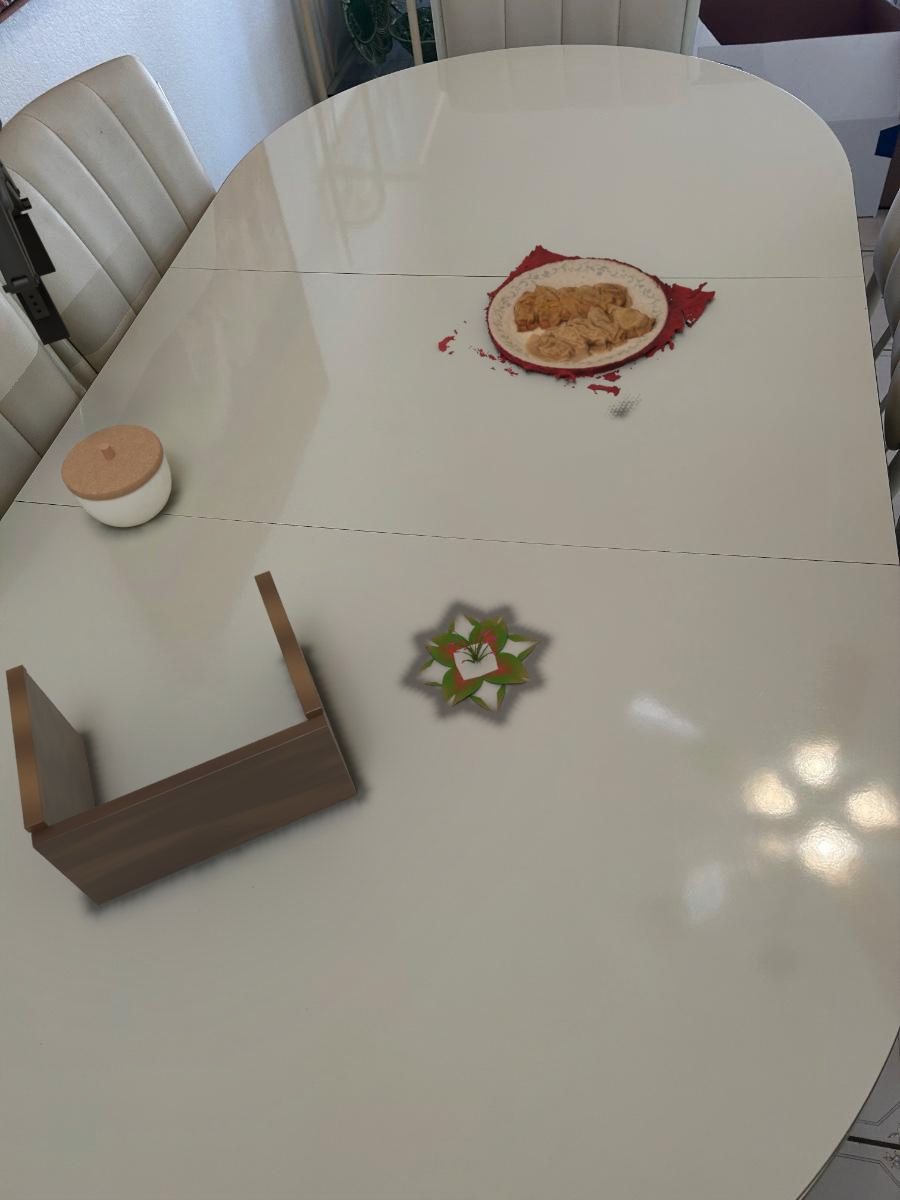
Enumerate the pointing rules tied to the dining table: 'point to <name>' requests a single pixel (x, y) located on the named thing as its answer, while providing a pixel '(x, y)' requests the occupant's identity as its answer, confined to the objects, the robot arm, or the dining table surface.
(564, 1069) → the dining table surface
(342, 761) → the shelf cubby
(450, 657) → the lily flower
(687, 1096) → the dining table surface
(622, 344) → the plate with food
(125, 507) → the trinket box
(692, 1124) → the dining table surface
